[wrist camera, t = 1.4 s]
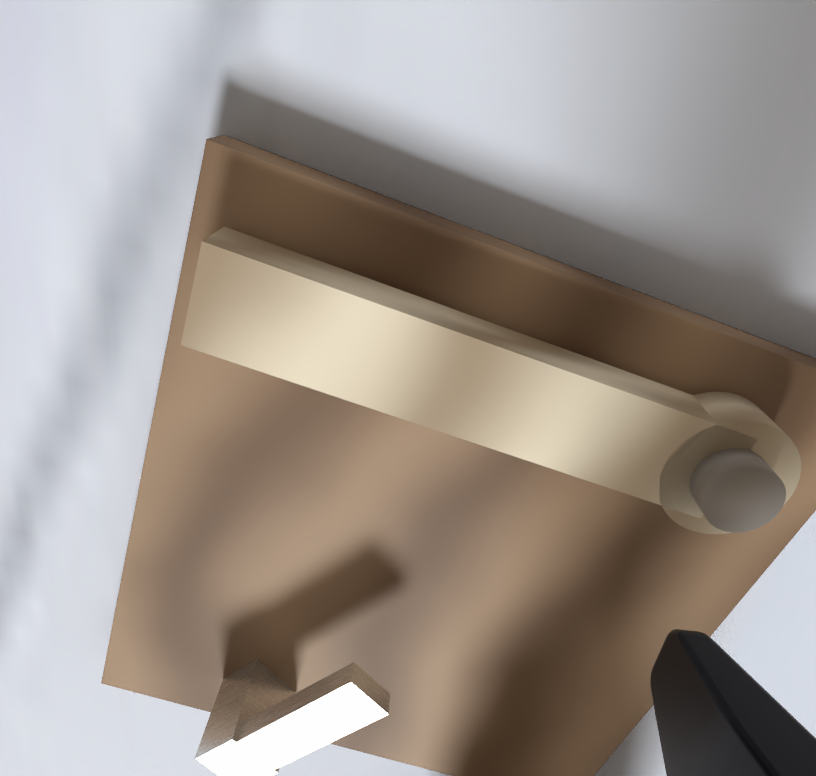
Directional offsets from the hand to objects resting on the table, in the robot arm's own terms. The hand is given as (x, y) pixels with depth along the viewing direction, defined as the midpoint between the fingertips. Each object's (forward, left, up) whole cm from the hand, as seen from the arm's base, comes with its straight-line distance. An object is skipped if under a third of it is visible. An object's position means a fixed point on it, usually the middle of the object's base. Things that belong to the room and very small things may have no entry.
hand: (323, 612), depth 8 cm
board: (-5, +9, -13) cm, 16 cm away
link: (-4, +1, -11) cm, 12 cm away
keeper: (-2, +15, -11) cm, 19 cm away
